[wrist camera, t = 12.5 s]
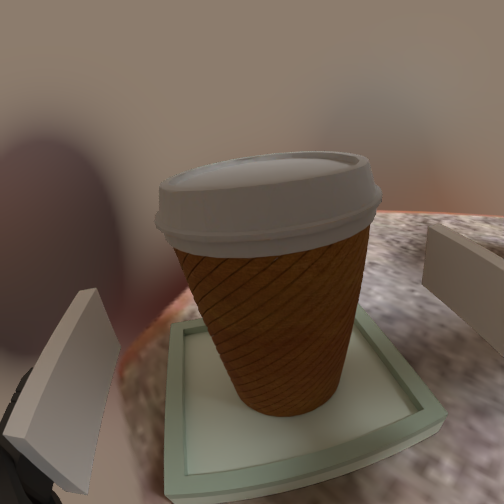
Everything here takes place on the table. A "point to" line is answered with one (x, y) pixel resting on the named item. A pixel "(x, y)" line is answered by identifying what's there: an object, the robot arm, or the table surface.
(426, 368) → the table surface
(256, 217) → the disposable coffee cup
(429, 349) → the table surface
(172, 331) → the coaster plate
